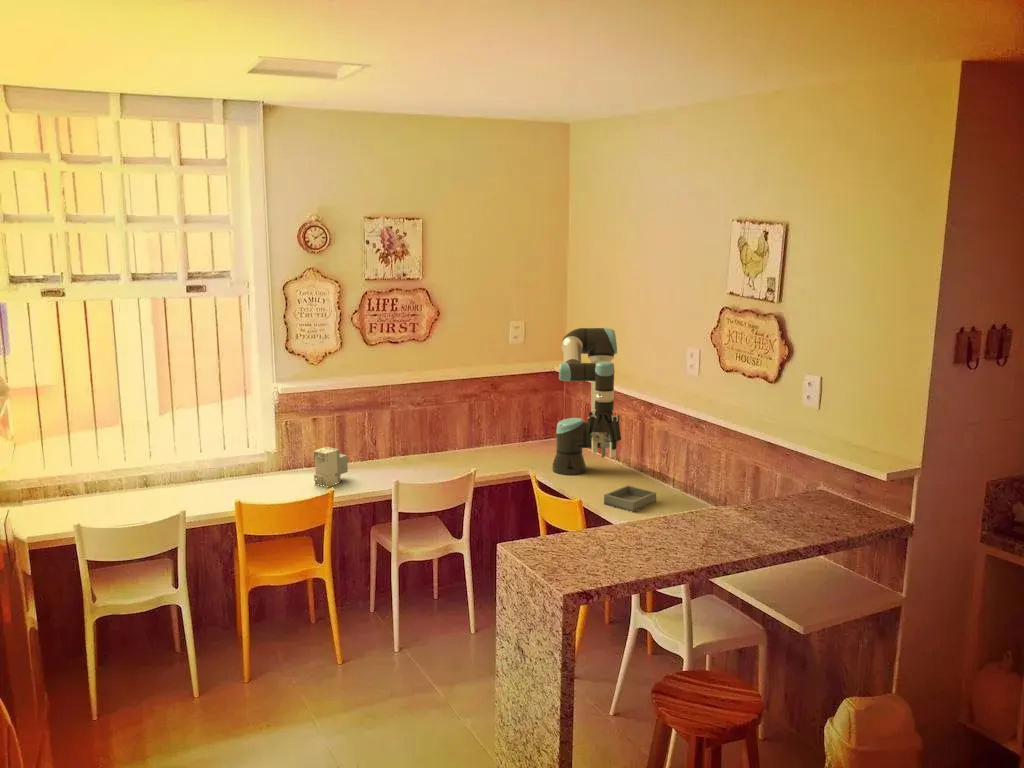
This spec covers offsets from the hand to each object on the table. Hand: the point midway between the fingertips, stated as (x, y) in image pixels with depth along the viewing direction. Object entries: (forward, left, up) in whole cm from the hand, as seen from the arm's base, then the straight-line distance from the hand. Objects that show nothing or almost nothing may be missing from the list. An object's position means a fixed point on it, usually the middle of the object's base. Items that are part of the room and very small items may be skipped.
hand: (603, 454), depth 361 cm
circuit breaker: (+63, -98, -18) cm, 118 cm away
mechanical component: (0, 0, -1) cm, 1 cm away
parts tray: (-1, +13, -18) cm, 22 cm away
